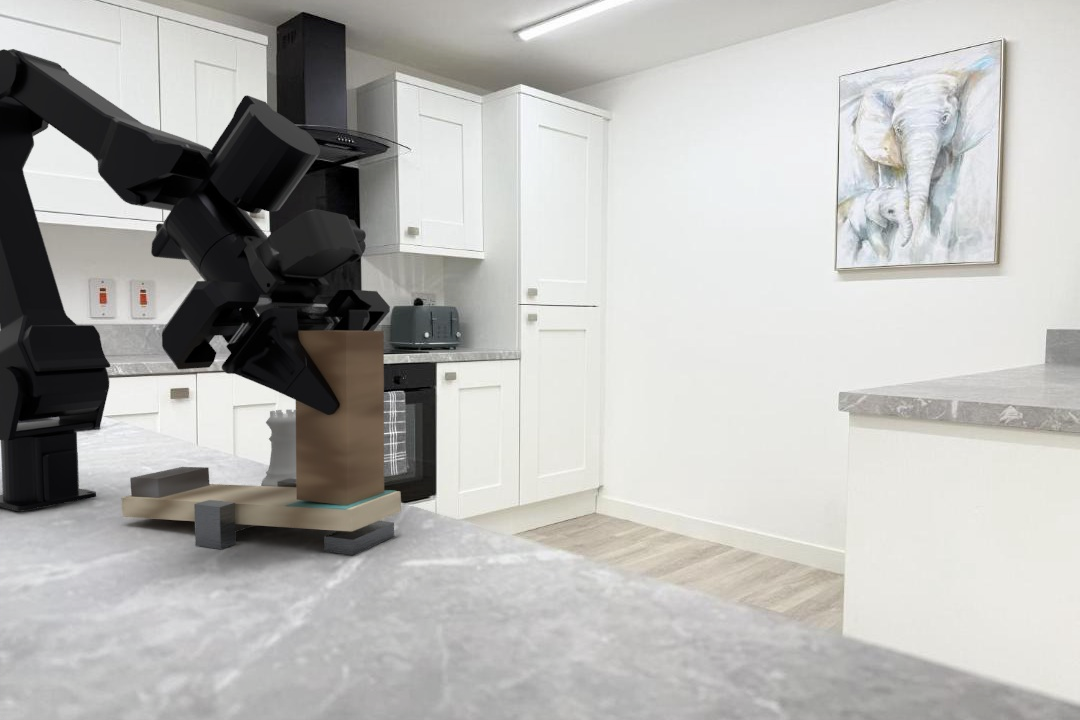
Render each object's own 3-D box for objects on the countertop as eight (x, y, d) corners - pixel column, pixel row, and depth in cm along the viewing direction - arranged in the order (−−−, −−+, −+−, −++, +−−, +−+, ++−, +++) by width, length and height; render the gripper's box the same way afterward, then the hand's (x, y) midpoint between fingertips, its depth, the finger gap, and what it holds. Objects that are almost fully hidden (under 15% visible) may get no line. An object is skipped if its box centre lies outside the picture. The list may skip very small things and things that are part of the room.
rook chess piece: (296, 505, 67) (294, 414, 67) (250, 503, 68) (248, 413, 68) (320, 494, 71) (319, 408, 71) (277, 492, 72) (275, 407, 72)
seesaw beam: (122, 526, 60) (119, 478, 60) (185, 508, 66) (182, 465, 66) (352, 542, 52) (349, 487, 52) (402, 521, 57) (399, 471, 57)
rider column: (296, 499, 54) (294, 330, 54) (335, 487, 58) (334, 330, 58) (347, 505, 53) (346, 331, 52) (384, 492, 57) (383, 330, 56)
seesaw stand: (195, 545, 55) (194, 504, 55) (289, 513, 64) (289, 478, 64) (330, 565, 50) (329, 520, 50) (411, 528, 59) (411, 489, 59)
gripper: (189, 150, 47) (337, 328, 44) (369, 195, 65) (486, 326, 61) (104, 280, 51) (234, 456, 47) (296, 290, 68) (403, 420, 64)
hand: (356, 407), depth 55 cm, fingers closed on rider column, 4 cm apart
